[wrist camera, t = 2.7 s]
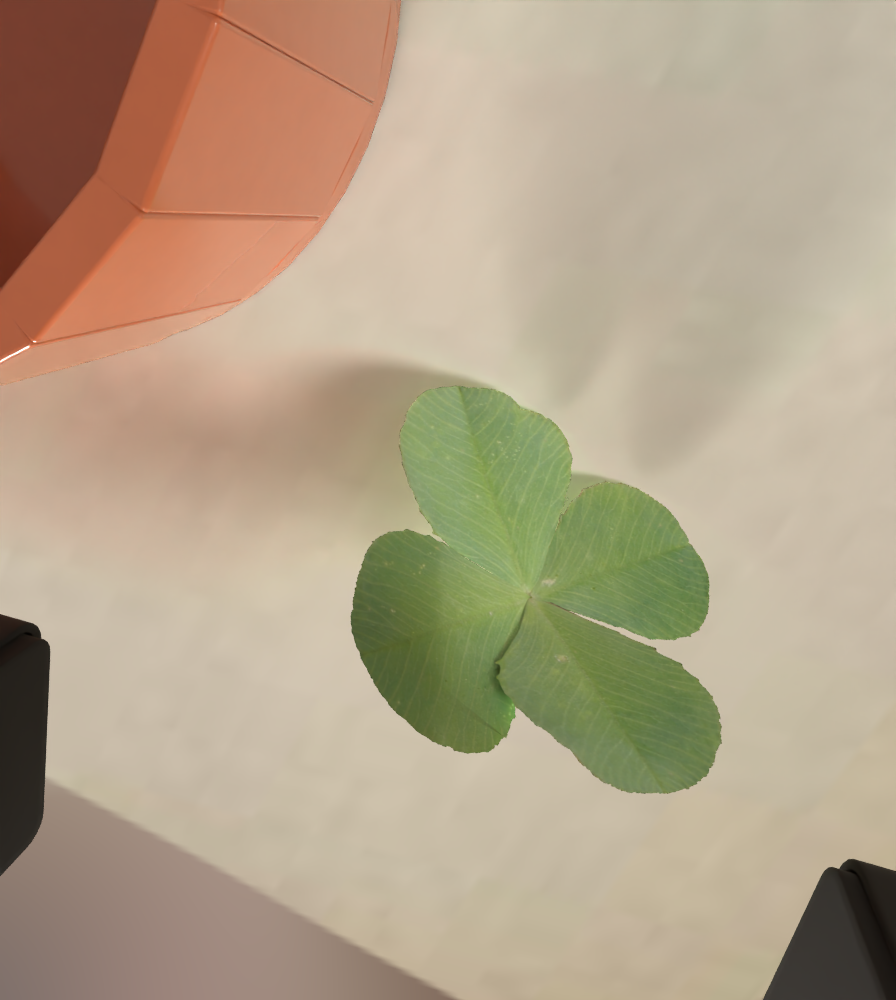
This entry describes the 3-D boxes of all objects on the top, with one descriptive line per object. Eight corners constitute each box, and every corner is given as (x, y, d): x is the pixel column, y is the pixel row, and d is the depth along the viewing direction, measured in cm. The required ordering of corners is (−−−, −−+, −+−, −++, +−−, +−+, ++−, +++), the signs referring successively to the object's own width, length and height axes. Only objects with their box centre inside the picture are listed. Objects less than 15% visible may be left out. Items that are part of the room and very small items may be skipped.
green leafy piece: (503, 522, 22) (610, 356, 17) (648, 815, 18) (839, 722, 13) (239, 582, 19) (268, 401, 14) (353, 949, 15) (452, 895, 10)
